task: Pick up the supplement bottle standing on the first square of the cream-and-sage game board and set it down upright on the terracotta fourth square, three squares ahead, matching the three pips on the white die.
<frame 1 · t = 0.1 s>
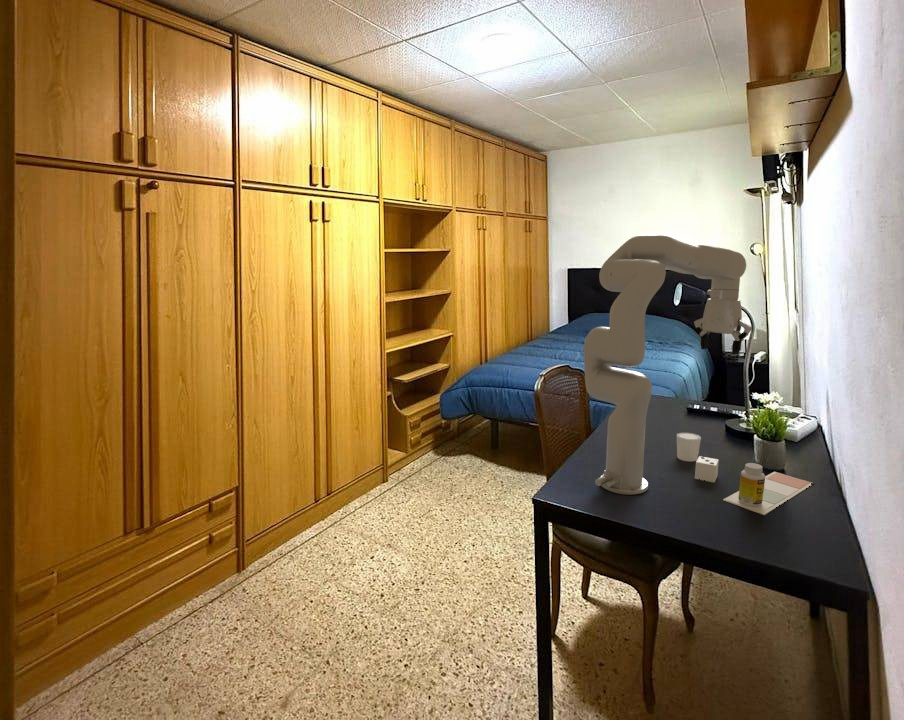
hand: (719, 351, 168), 31 cm above the table, tool pointing down, fingers open, 9 cm apart
supplement bottle: (750, 503, 136), resting on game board
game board: (769, 491, 143), on the table
die: (706, 477, 152), on the table
white cup: (687, 458, 166), on the table
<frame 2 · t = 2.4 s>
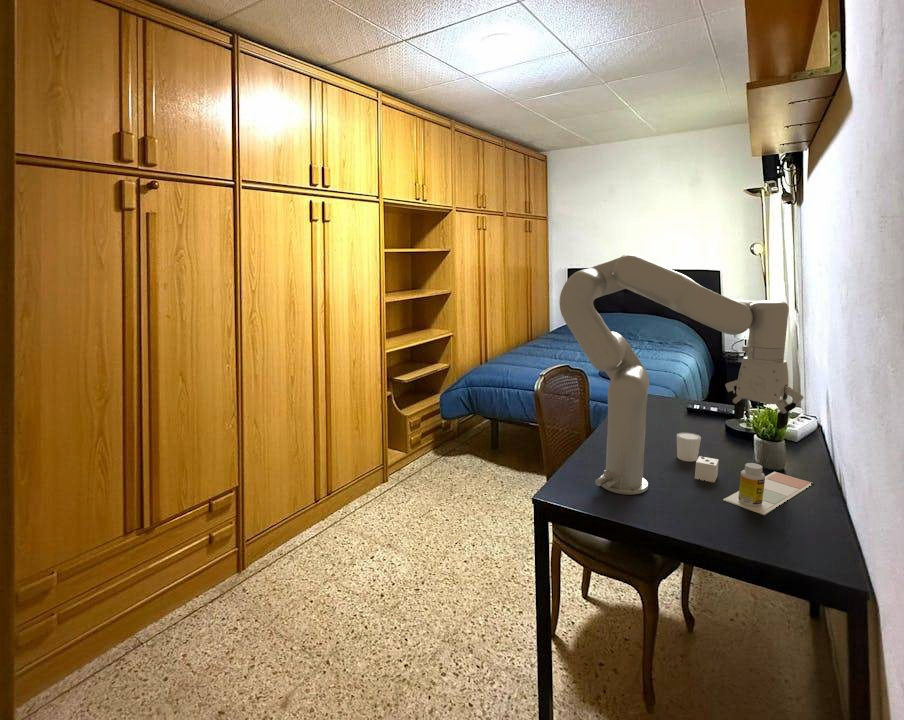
hand: (759, 423, 132), 21 cm above the table, tool pointing down, fingers open, 9 cm apart
nothing on the table moved.
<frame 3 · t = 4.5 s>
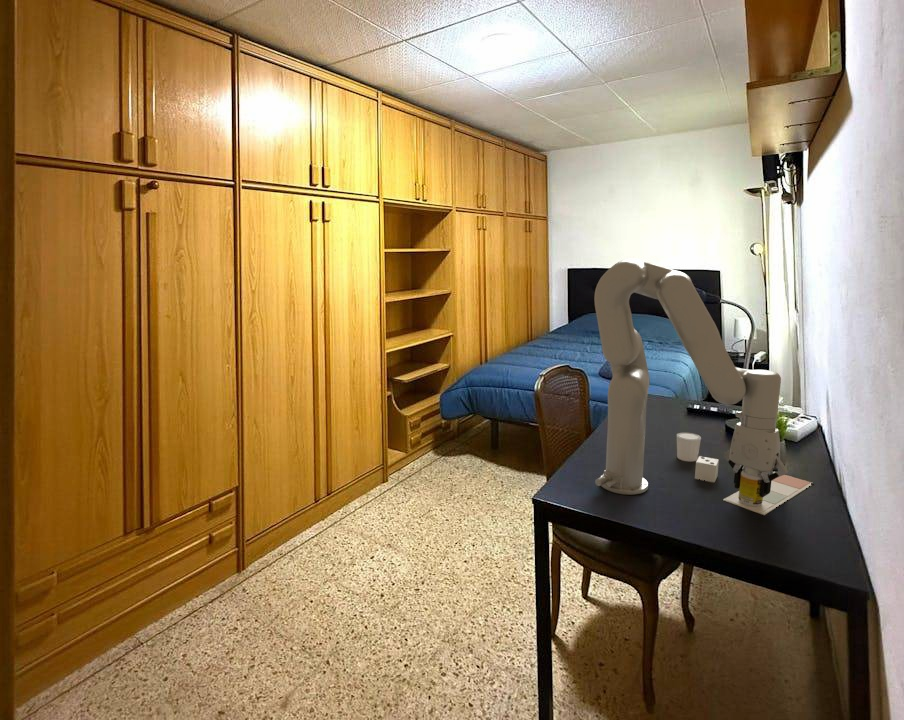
hand: (751, 490, 136), 3 cm above the table, tool pointing down, fingers closed on supplement bottle, 5 cm apart
supplement bottle: (750, 503, 136), resting on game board, touching gripper
everything else where it was.
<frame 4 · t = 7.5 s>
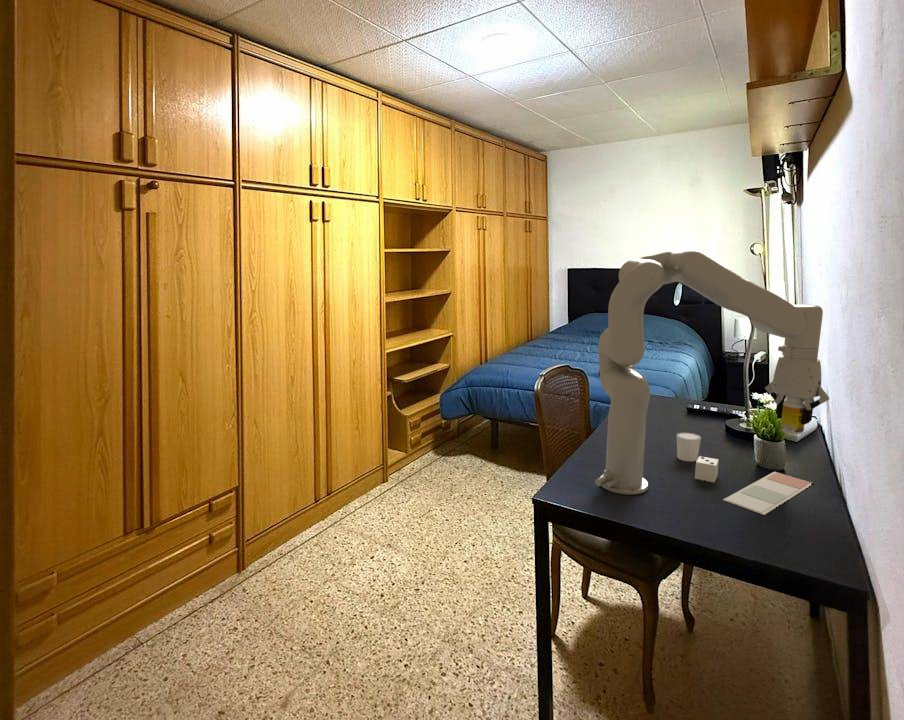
hand: (793, 419, 144), 18 cm above the table, tool pointing down, fingers closed on supplement bottle, 5 cm apart
supplement bottle: (791, 432, 145), point 14 cm above the table, touching gripper
everything else where it was.
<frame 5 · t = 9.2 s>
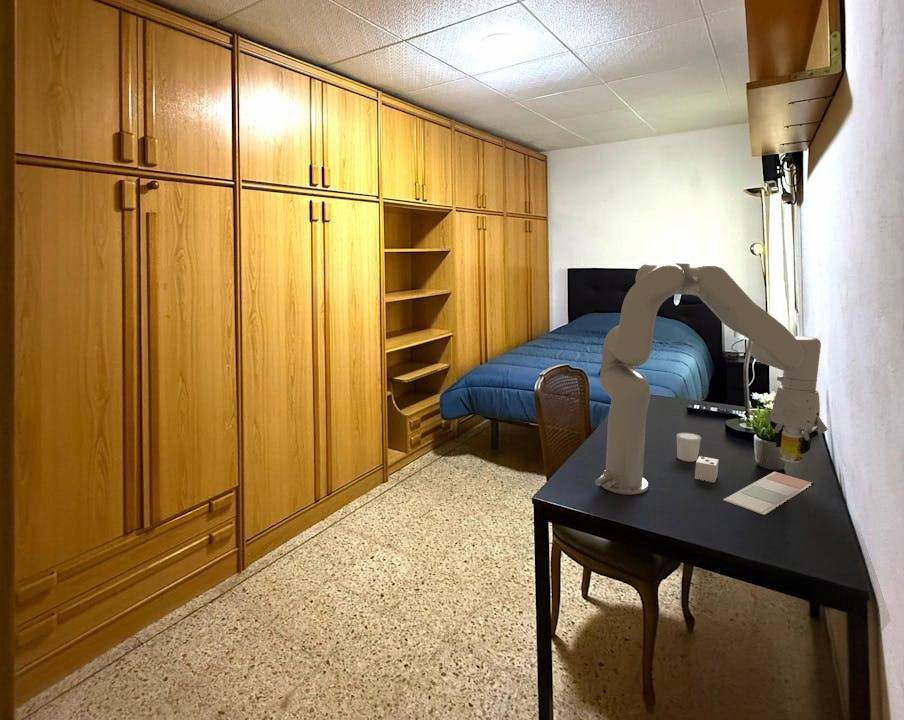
hand: (791, 448, 147), 9 cm above the table, tool pointing down, fingers closed on supplement bottle, 5 cm apart
supplement bottle: (790, 460, 147), point 6 cm above the table, touching gripper
everything else where it was.
when the fingers open (5 cm above the table, at t = 10.5 s): supplement bottle drops 1 cm, resting on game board.
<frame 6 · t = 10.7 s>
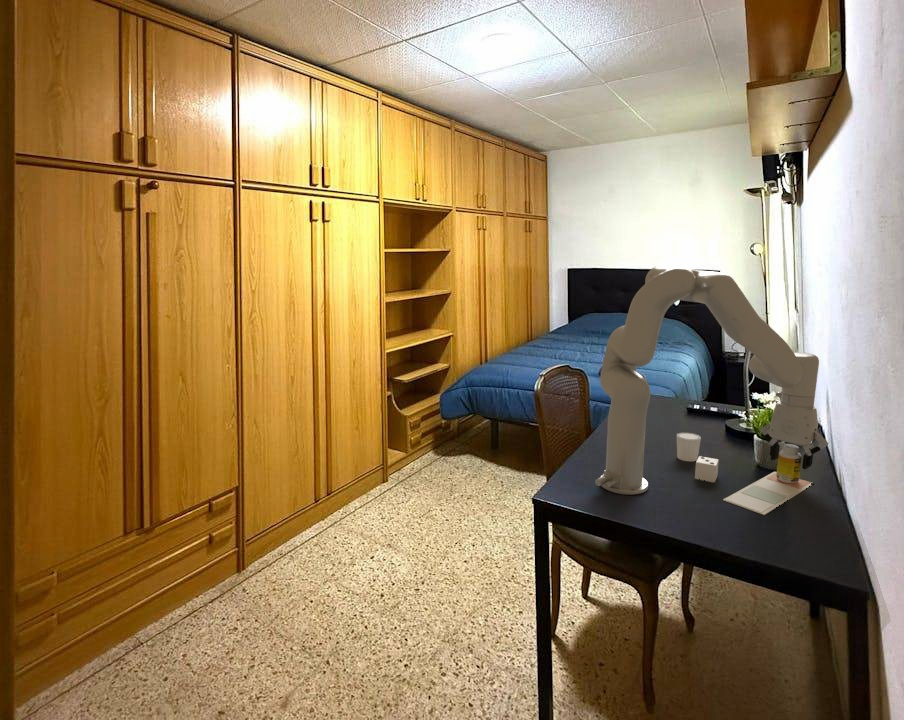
hand: (789, 462, 148), 5 cm above the table, tool pointing down, fingers open, 7 cm apart
supplement bottle: (787, 480, 149), resting on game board
everything else where it was.
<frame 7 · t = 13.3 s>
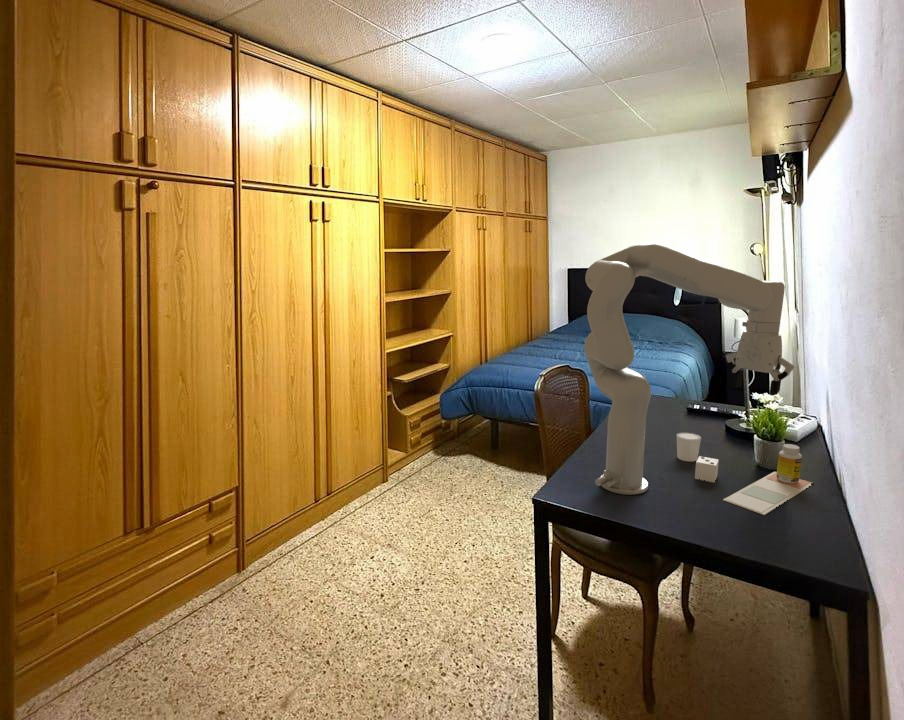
hand: (754, 390, 148), 24 cm above the table, tool pointing down, fingers open, 9 cm apart
nothing on the table moved.
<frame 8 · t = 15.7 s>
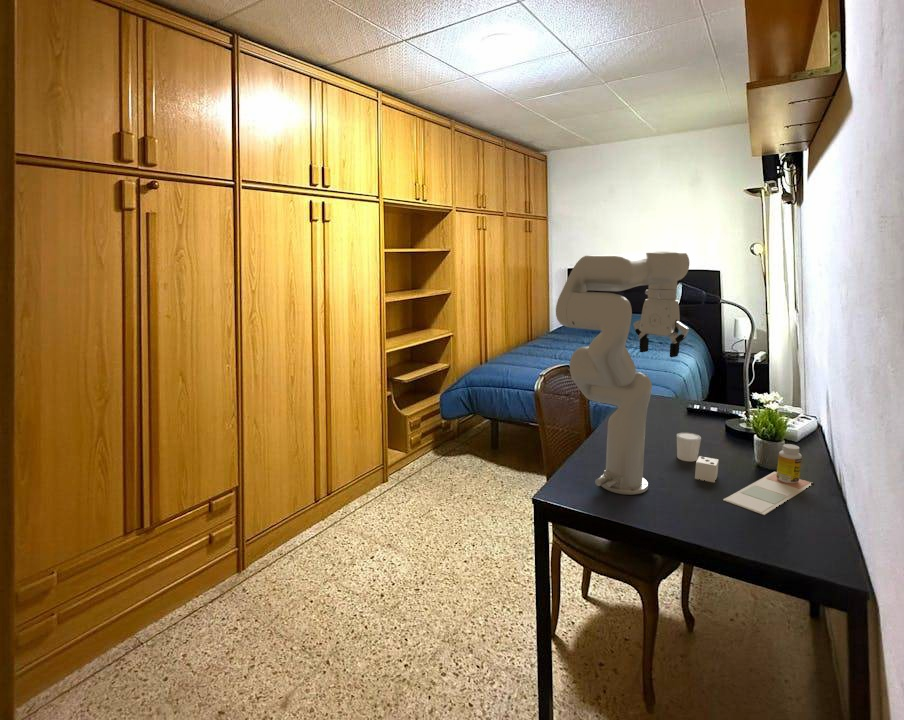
hand: (658, 354, 159), 32 cm above the table, tool pointing down, fingers open, 9 cm apart
nothing on the table moved.
at the end: supplement bottle 0.2 cm from the target spot on the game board, point 0.1 cm above the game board's base; supplement bottle tilted 0°; the gripper is holding nothing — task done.
